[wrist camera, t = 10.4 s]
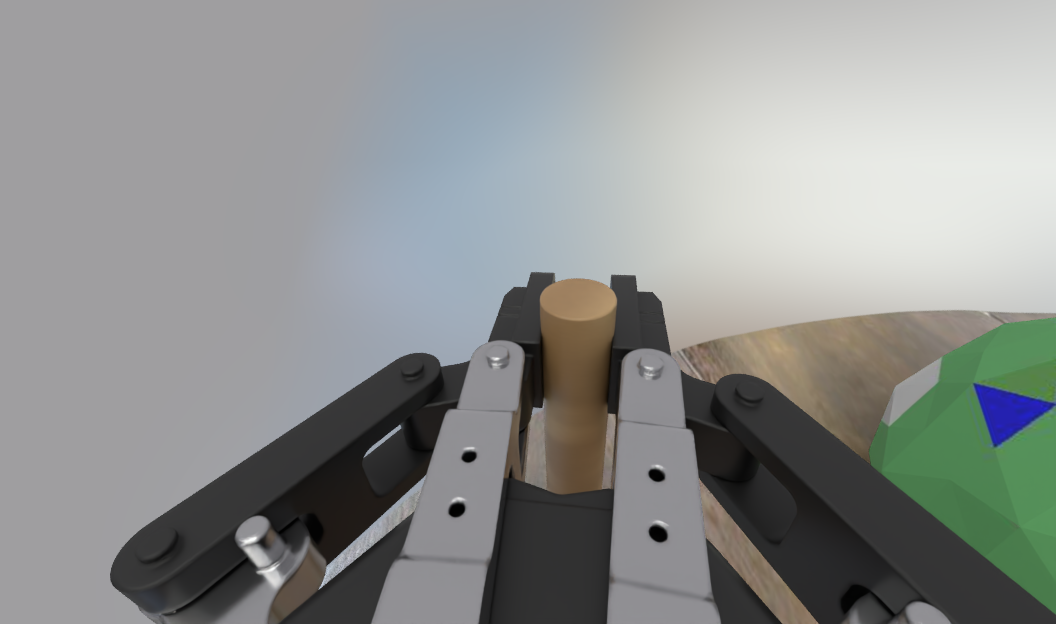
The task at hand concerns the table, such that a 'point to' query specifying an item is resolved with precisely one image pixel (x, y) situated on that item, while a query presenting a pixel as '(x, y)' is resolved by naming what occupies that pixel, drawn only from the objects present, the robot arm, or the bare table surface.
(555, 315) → the stick
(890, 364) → the table surface
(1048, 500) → the decorative sphere
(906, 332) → the table surface
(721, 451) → the robot arm
